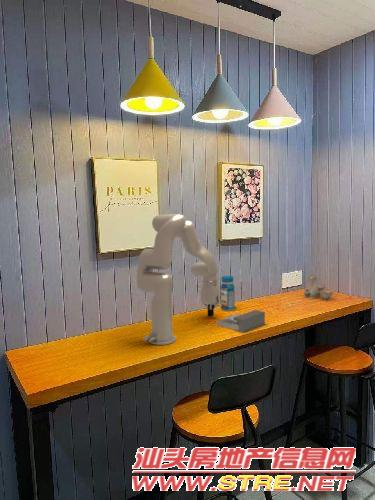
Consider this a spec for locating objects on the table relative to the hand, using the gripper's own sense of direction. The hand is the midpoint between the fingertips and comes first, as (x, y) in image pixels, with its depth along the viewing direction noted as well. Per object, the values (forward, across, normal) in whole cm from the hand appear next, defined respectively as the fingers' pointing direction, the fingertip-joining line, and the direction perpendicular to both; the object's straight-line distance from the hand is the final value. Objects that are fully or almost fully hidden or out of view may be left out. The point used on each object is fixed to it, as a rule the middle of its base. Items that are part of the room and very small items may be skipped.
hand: (210, 315), depth 206 cm
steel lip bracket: (+1, +21, 0) cm, 21 cm away
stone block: (+2, +16, 0) cm, 16 cm away
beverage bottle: (+1, -4, +20) cm, 20 cm away
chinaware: (+2, +21, +82) cm, 85 cm away
